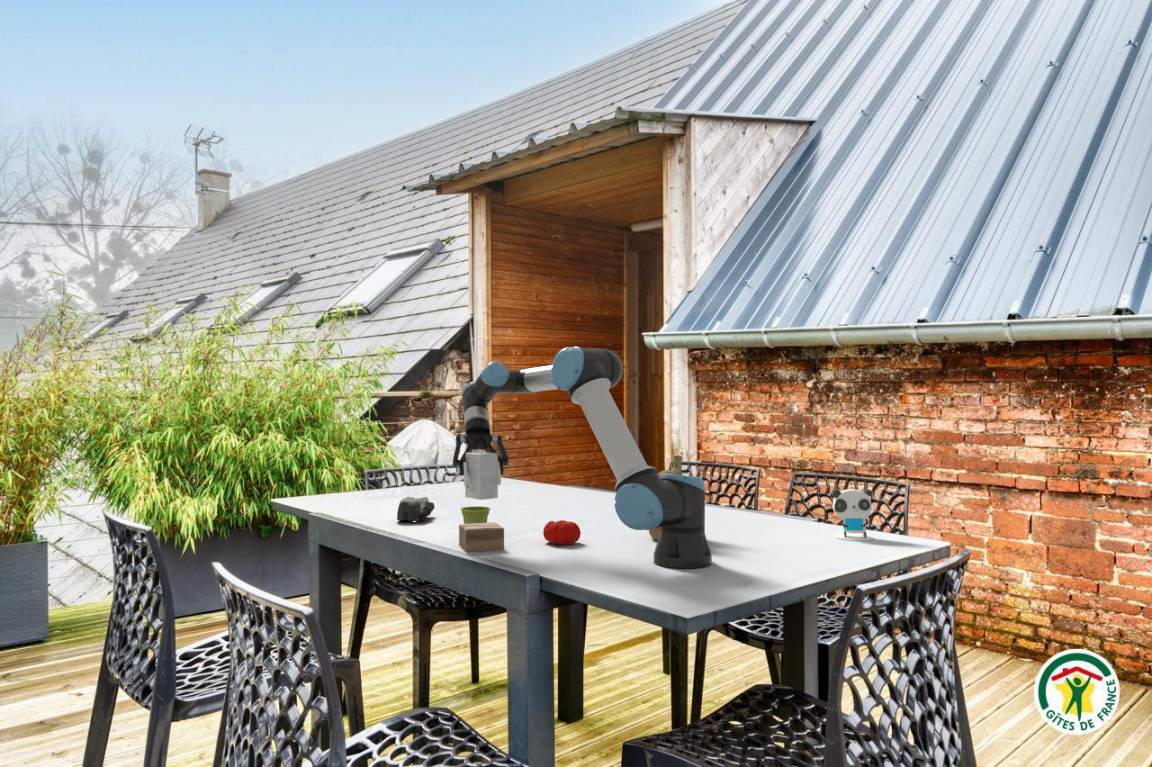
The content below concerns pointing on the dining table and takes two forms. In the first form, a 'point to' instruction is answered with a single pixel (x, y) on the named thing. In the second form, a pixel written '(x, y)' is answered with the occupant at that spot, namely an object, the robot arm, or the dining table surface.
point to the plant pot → (475, 514)
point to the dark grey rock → (414, 508)
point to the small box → (482, 475)
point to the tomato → (561, 532)
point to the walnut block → (481, 536)
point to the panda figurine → (852, 513)
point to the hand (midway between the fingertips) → (482, 482)
